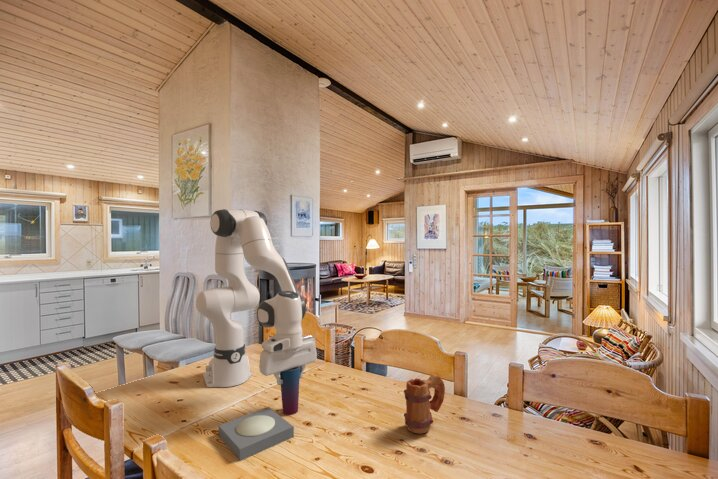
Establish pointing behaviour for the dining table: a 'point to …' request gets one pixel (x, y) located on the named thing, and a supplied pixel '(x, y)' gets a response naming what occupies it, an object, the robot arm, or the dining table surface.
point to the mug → (422, 402)
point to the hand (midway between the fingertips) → (289, 381)
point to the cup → (290, 390)
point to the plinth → (255, 432)
